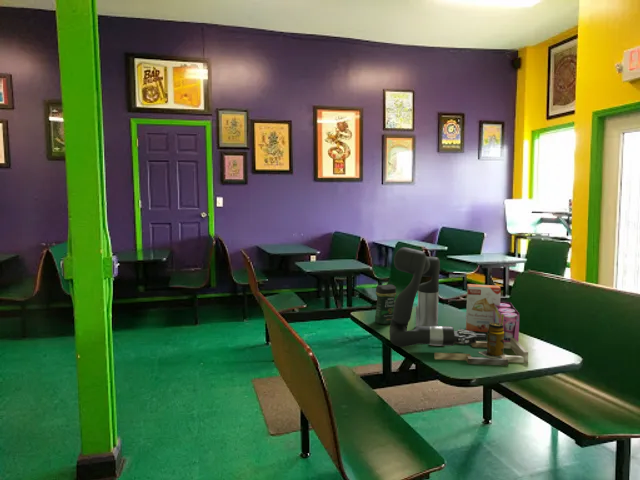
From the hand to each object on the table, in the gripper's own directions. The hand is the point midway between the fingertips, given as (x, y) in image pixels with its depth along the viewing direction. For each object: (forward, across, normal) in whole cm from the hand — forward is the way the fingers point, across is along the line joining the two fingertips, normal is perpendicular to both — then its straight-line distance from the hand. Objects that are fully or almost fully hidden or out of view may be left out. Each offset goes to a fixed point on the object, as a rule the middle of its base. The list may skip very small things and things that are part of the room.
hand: (486, 337), depth 174 cm
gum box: (+12, +20, +7) cm, 24 cm away
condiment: (+3, 0, +7) cm, 7 cm away
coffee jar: (-38, +39, +7) cm, 55 cm away
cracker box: (+6, +30, +7) cm, 32 cm away
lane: (-4, 0, +7) cm, 8 cm away
